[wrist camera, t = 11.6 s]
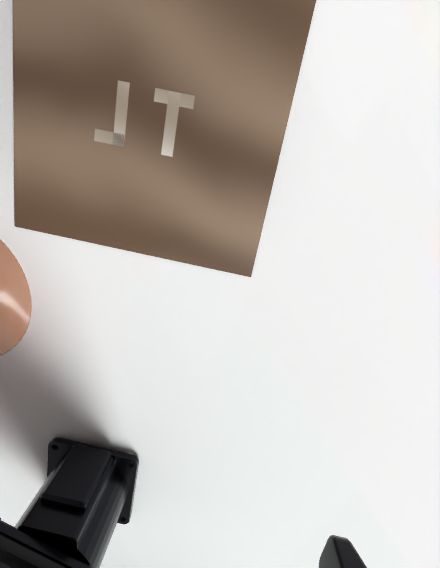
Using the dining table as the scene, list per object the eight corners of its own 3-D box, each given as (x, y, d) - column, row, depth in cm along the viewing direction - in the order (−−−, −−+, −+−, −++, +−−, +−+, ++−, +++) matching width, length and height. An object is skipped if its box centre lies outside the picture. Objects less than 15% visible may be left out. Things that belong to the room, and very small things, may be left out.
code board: (250, 273, 20) (250, 277, 20) (21, 224, 21) (14, 226, 20) (319, -17, 16) (321, -24, 15) (20, -73, 16) (11, -82, 15)
